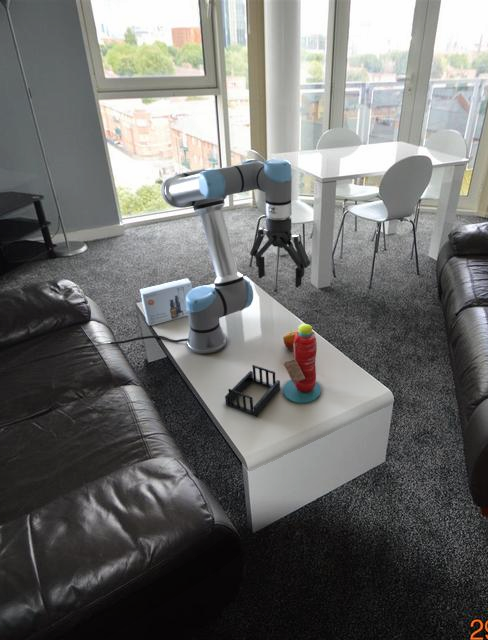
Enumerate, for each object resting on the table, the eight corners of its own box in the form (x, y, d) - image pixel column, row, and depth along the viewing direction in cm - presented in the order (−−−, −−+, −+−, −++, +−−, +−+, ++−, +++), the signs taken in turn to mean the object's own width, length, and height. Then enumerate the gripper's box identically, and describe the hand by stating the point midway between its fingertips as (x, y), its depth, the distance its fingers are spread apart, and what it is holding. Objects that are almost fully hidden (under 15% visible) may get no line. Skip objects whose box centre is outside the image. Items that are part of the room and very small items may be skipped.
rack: (226, 405, 146) (223, 388, 142) (251, 379, 157) (249, 363, 153) (256, 417, 141) (255, 400, 137) (280, 389, 152) (279, 372, 148)
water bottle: (295, 403, 146) (295, 340, 132) (280, 391, 151) (278, 329, 137) (322, 388, 152) (324, 326, 138) (307, 377, 157) (308, 316, 143)
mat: (276, 396, 150) (276, 394, 149) (294, 375, 159) (294, 373, 159) (310, 408, 144) (310, 407, 144) (326, 385, 154) (326, 384, 153)
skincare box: (149, 327, 188) (142, 294, 179) (146, 321, 192) (138, 288, 183) (196, 314, 197) (191, 281, 188) (192, 308, 200) (187, 277, 192)
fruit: (291, 353, 167) (286, 333, 167) (284, 353, 175) (278, 334, 174) (310, 348, 170) (305, 328, 170) (301, 348, 178) (296, 328, 177)
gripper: (236, 213, 131) (240, 277, 144) (311, 227, 122) (309, 295, 134) (249, 206, 137) (253, 268, 149) (322, 219, 127) (319, 284, 139)
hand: (279, 281), depth 141 cm, fingers open, 13 cm apart
